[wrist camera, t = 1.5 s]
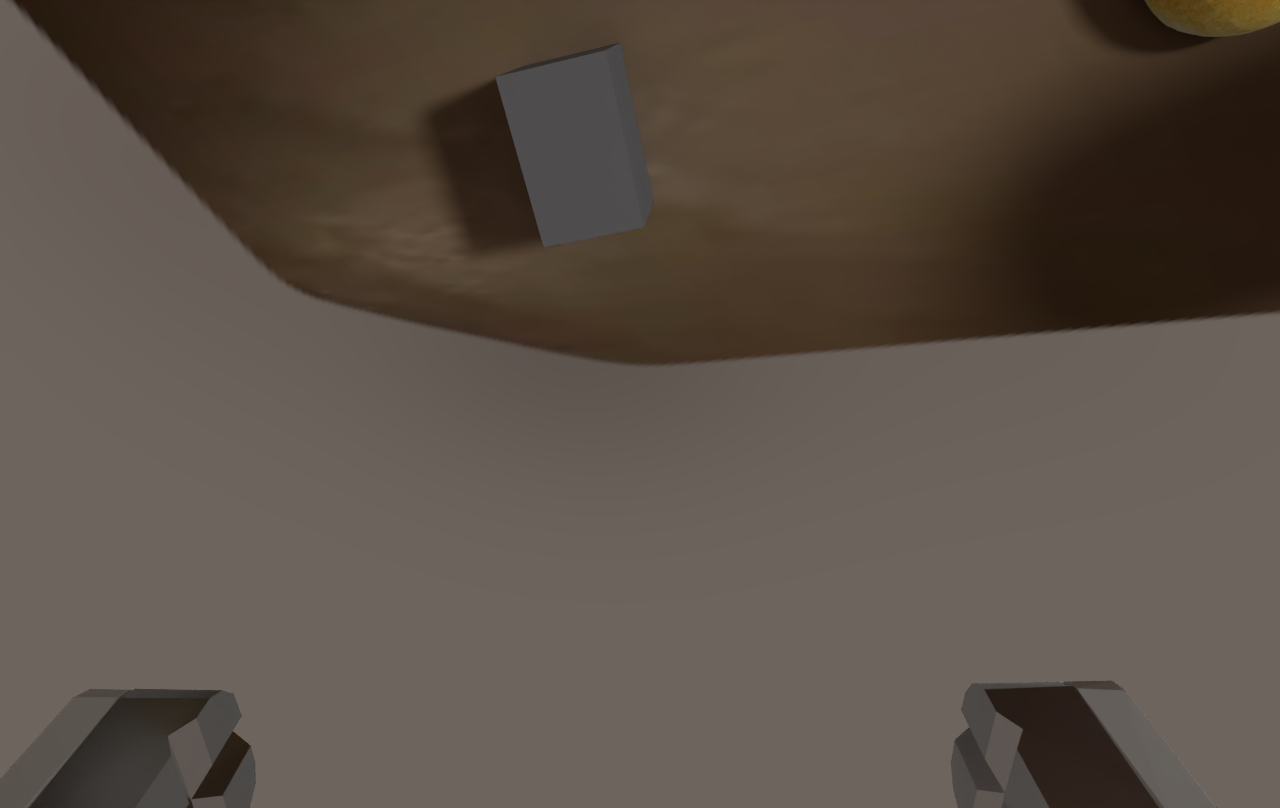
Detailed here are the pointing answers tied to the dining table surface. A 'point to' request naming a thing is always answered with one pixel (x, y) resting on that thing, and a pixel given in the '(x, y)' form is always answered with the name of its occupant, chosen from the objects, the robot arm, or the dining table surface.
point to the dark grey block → (578, 145)
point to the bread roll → (1216, 15)
